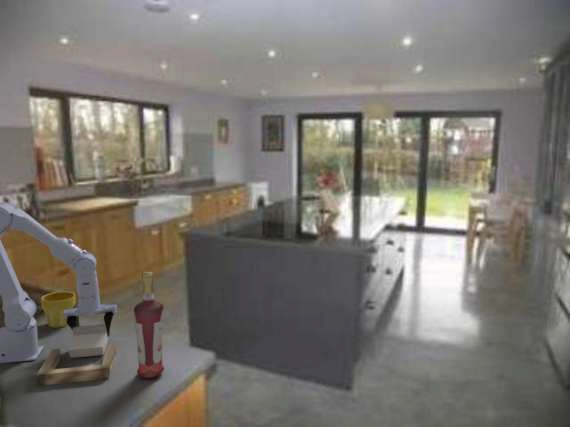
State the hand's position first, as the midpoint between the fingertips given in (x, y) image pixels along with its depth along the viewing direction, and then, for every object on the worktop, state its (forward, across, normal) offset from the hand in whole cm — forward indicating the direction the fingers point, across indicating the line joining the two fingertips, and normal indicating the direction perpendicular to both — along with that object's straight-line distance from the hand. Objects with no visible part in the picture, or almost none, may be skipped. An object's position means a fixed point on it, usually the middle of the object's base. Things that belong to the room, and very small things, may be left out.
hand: (93, 337), depth 130 cm
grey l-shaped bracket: (+2, 0, -4) cm, 4 cm away
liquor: (+3, +18, -20) cm, 27 cm away
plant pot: (+3, -14, +20) cm, 24 cm away
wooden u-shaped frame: (+2, -1, -13) cm, 14 cm away
